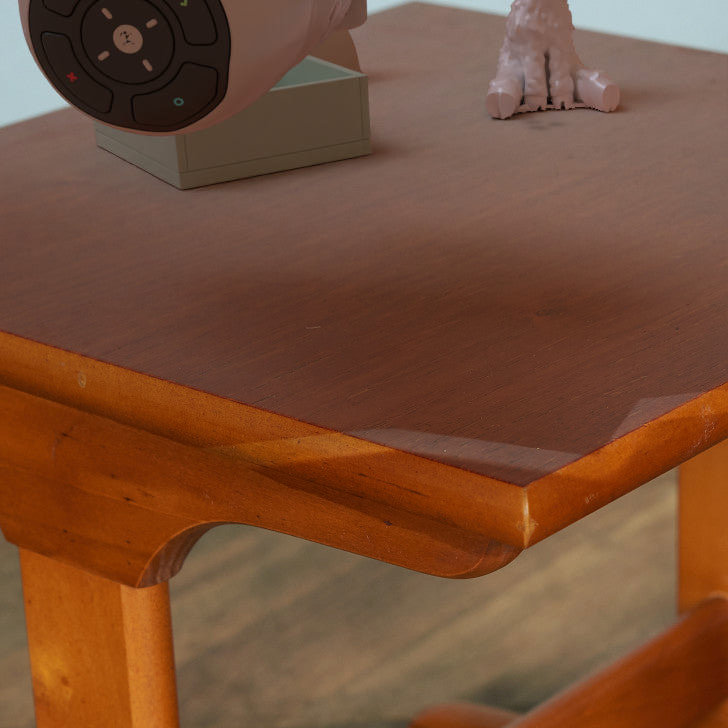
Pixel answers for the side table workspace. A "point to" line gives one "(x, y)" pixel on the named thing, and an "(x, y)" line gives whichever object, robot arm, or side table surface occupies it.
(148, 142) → the open storage bin
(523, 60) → the white creature statuette
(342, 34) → the decorative ornament
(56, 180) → the side table surface
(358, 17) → the pill bottle
